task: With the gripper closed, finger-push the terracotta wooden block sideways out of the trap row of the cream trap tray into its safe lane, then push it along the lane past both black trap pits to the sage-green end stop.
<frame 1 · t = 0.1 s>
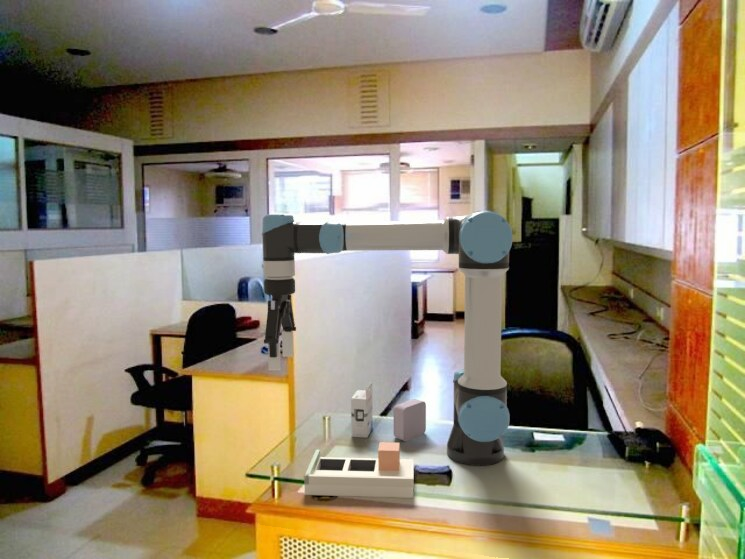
hand: (281, 363, 135), 28 cm above the table, fingers open, 13 cm apart
terracotta block: (389, 466, 134), point 2 cm above the table, touching trap tray
trap tray: (361, 481, 132), on the table
ink box: (362, 432, 163), on the table
electronic device: (408, 436, 160), on the table
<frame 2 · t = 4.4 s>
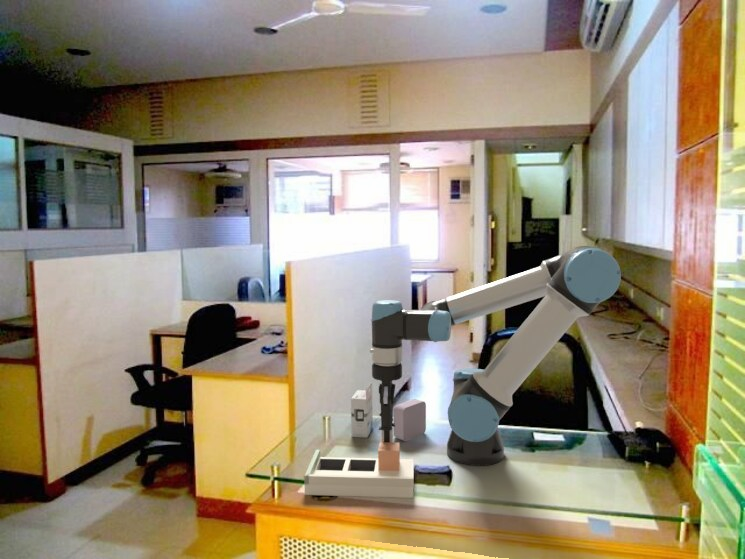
hand: (387, 453, 138), 4 cm above the table, fingers closed
terracotta block: (389, 466, 134), point 3 cm above the table, touching gripper, trap tray
everything else where it was.
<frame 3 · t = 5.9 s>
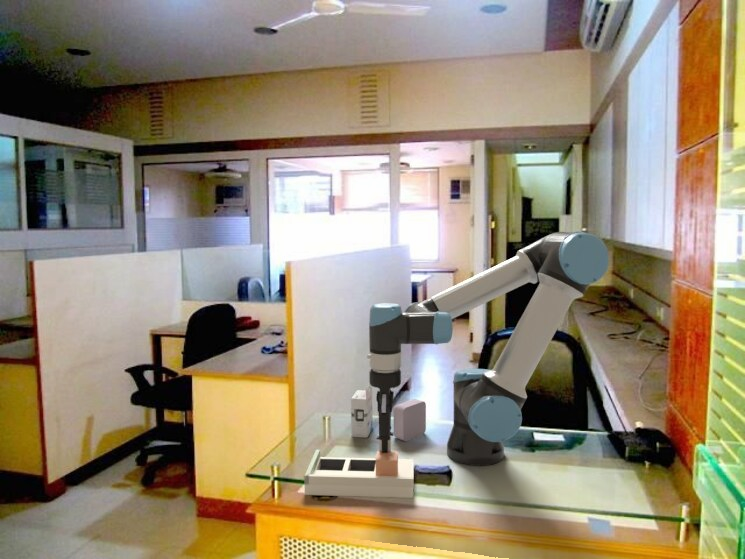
hand: (385, 463, 132), 4 cm above the table, fingers closed
terracotta block: (387, 475, 129), point 3 cm above the table, touching gripper, trap tray
everything else where it was.
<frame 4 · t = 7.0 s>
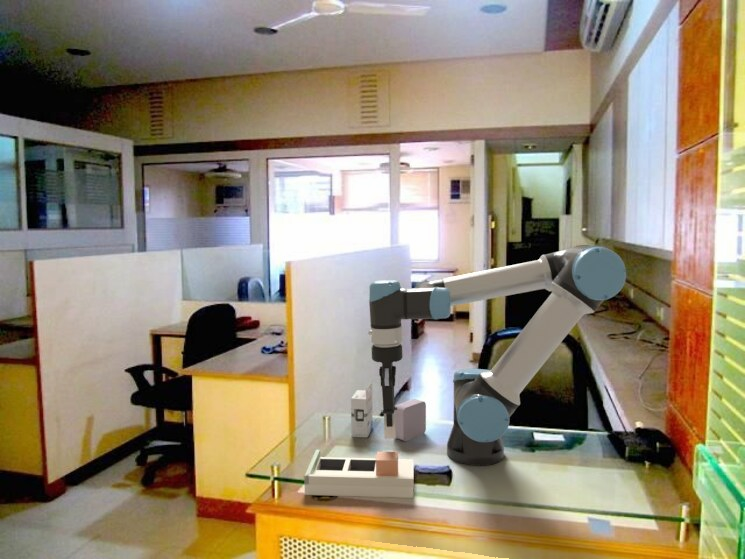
hand: (390, 437, 135), 9 cm above the table, fingers closed
terracotta block: (387, 476, 129), point 2 cm above the table, touching trap tray
everything else where it was.
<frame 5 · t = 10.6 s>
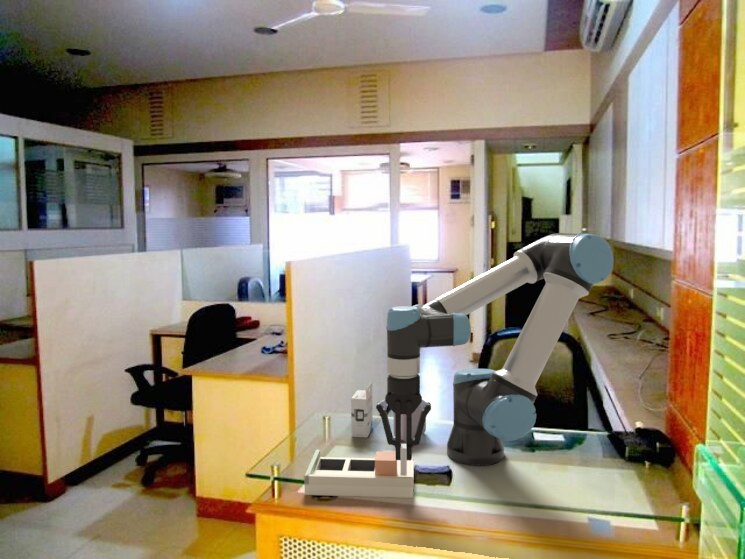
hand: (403, 472, 127), 4 cm above the table, fingers closed
terracotta block: (386, 476, 129), point 3 cm above the table, touching gripper, trap tray
everything else where it was.
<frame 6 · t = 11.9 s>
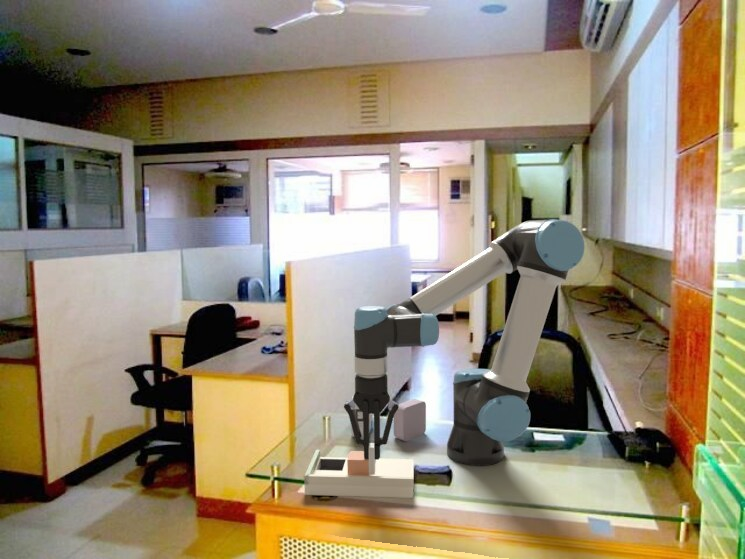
hand: (372, 471, 127), 4 cm above the table, fingers closed
terracotta block: (359, 475, 129), point 3 cm above the table, touching gripper, trap tray
everything else where it was.
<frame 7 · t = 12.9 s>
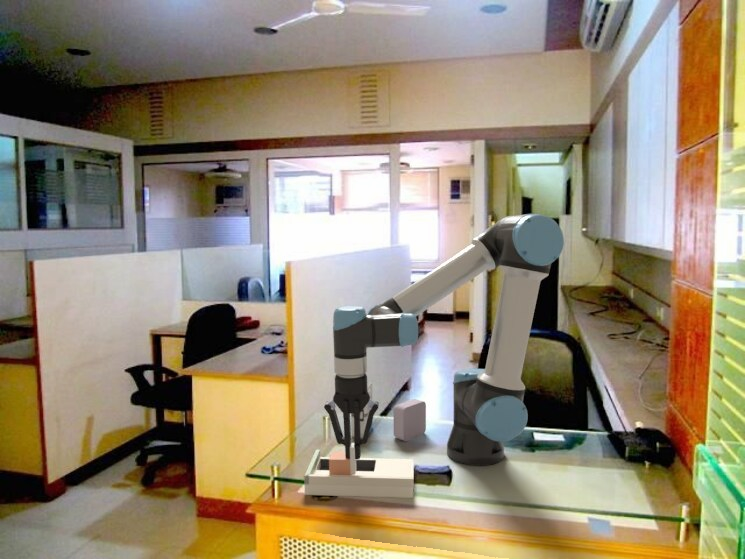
hand: (353, 471, 128), 4 cm above the table, fingers closed
terracotta block: (341, 475, 129), point 3 cm above the table, touching gripper, trap tray
everything else where it was.
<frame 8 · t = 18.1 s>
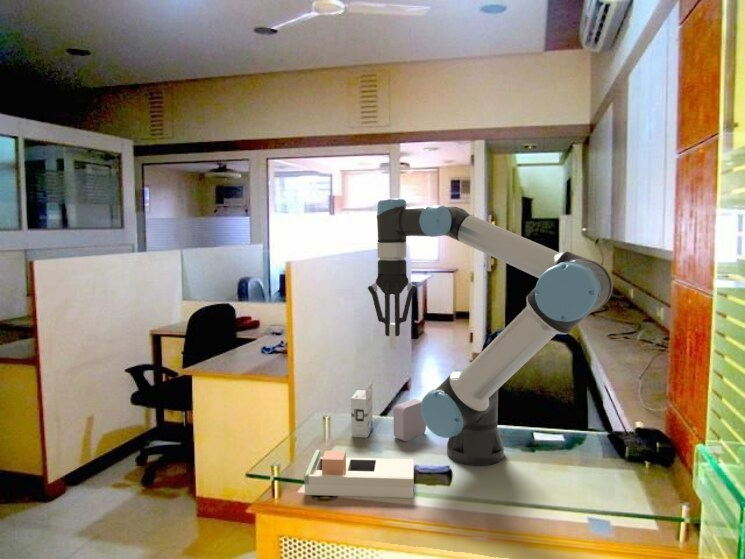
hand: (392, 347, 144), 29 cm above the table, fingers closed
terracotta block: (334, 475, 129), point 2 cm above the table, touching trap tray
everything else where it was.
at the end: terracotta block inside the target area on the trap tray (1.6 cm from its centre), point 2.5 cm above the trap tray's base; terracotta block tilted 0° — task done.
